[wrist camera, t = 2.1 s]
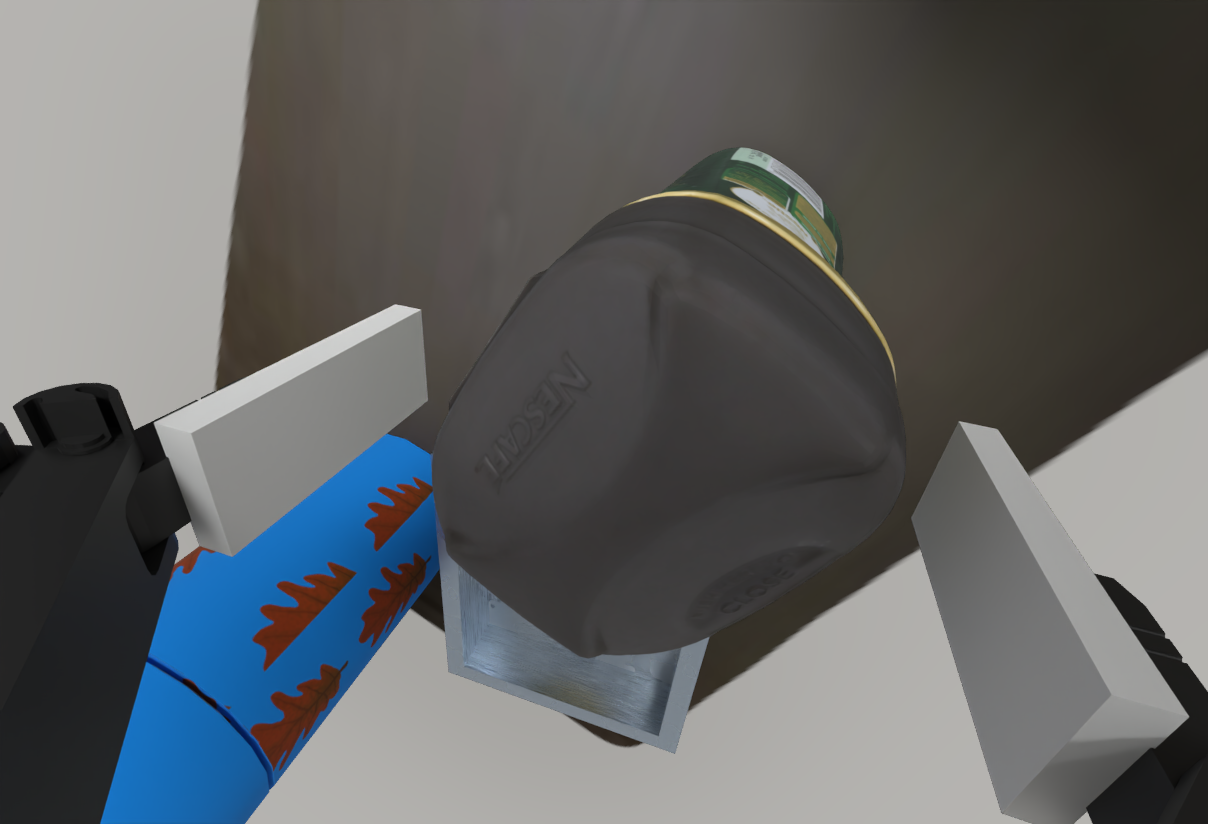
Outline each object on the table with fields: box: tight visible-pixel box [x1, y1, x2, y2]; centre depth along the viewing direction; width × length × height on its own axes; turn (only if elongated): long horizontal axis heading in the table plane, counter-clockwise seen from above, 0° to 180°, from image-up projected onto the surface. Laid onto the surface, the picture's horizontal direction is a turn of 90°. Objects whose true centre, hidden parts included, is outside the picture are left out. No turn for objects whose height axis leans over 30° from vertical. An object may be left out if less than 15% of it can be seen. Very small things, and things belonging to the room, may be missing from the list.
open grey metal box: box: [430, 452, 709, 754], centre depth 29 cm, size 13×17×9 cm
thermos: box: [100, 434, 440, 824], centre depth 28 cm, size 11×11×25 cm
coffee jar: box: [432, 148, 906, 659], centre depth 17 cm, size 10×8×19 cm
